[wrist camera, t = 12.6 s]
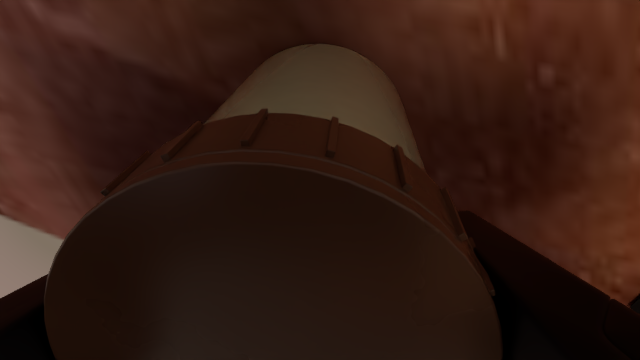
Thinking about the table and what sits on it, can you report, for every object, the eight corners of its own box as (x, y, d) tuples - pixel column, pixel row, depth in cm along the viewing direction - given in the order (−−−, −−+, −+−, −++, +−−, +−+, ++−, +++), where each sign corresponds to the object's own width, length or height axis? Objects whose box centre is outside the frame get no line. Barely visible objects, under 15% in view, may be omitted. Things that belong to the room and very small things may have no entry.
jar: (199, 123, 15) (18, 307, 7) (326, 1, 13) (277, 59, 5) (313, 233, 17) (274, 482, 9) (441, 141, 15) (547, 357, 7)
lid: (553, 285, 7) (611, 377, 6) (305, 442, 10) (294, 537, 8) (254, 8, 6) (214, 27, 4) (46, 282, 8) (-31, 361, 7)
